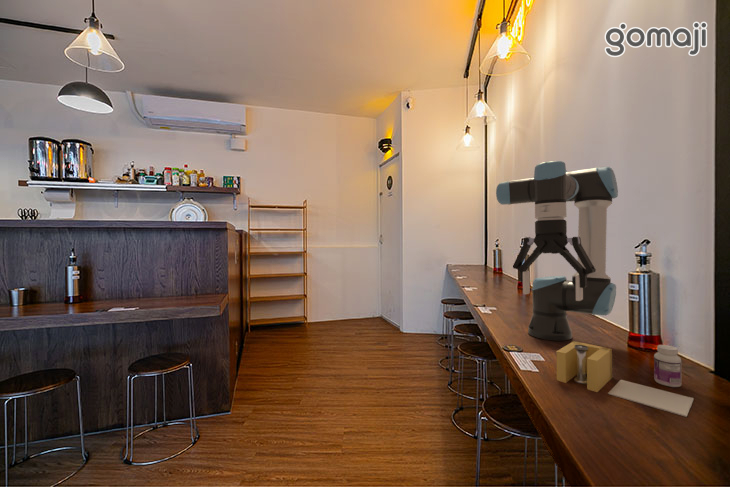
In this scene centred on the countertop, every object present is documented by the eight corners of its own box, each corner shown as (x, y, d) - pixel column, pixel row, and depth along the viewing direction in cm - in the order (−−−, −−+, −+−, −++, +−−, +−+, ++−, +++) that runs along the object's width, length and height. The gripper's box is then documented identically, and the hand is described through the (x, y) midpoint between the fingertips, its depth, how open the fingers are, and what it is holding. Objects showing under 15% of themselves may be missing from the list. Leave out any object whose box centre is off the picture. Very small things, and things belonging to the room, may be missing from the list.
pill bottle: (655, 377, 91) (654, 342, 91) (681, 382, 87) (681, 346, 87) (653, 383, 87) (652, 347, 87) (681, 389, 83) (680, 352, 83)
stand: (576, 377, 91) (576, 343, 91) (590, 381, 89) (590, 346, 89) (572, 381, 89) (572, 346, 89) (586, 385, 87) (586, 349, 86)
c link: (574, 367, 98) (573, 341, 98) (612, 377, 91) (612, 348, 91) (556, 380, 90) (556, 351, 90) (597, 392, 83) (597, 360, 83)
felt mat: (620, 380, 89) (620, 379, 89) (693, 399, 78) (693, 398, 78) (608, 394, 82) (608, 392, 82) (686, 417, 71) (686, 415, 71)
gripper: (500, 221, 97) (501, 293, 98) (599, 216, 78) (600, 305, 78) (512, 221, 102) (513, 289, 102) (609, 216, 82) (610, 301, 83)
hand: (551, 296), depth 90 cm, fingers open, 13 cm apart
